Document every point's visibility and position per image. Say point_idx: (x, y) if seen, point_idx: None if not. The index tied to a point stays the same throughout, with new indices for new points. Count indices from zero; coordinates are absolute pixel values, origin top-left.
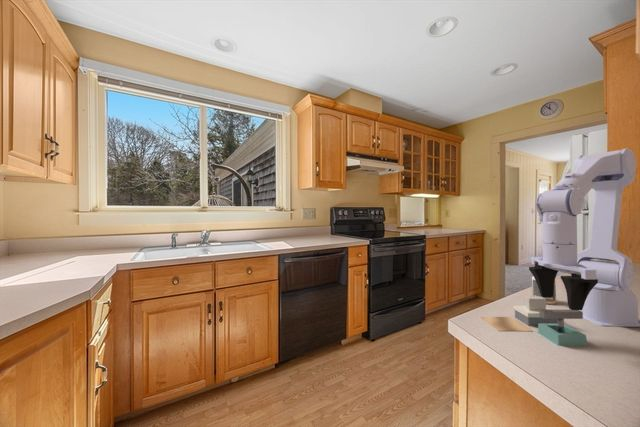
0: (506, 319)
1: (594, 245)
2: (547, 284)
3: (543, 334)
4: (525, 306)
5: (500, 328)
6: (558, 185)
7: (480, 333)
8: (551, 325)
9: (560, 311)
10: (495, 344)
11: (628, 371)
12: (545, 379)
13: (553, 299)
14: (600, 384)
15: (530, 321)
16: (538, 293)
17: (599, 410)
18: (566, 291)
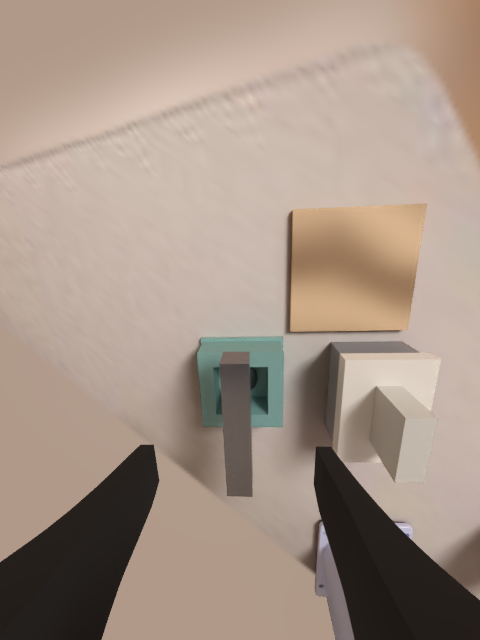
0: (387, 299)
1: None
2: (345, 551)
3: (259, 342)
4: (404, 389)
5: (310, 228)
6: None
7: (282, 129)
8: (268, 383)
9: (228, 429)
10: (199, 145)
11: (108, 401)
12: (25, 185)
13: None
14: (40, 305)
15: (336, 356)
16: None
17: None
18: (89, 524)
